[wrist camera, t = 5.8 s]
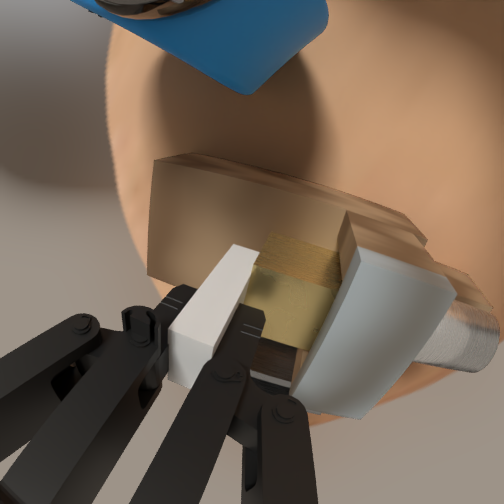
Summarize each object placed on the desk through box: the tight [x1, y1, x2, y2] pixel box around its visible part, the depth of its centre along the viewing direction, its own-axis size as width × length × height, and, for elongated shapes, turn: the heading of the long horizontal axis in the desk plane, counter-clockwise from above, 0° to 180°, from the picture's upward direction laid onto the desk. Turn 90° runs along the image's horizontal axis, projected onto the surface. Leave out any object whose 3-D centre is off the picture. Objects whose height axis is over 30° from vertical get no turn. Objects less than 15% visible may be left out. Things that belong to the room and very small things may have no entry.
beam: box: [147, 153, 493, 419], centre depth 14 cm, size 24×8×11 cm, turn 77°
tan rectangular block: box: [244, 232, 342, 351], centre depth 13 cm, size 5×4×4 cm
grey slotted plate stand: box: [250, 337, 321, 415], centre depth 21 cm, size 8×9×6 cm
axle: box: [412, 300, 500, 373], centre depth 12 cm, size 10×4×4 cm, turn 77°
